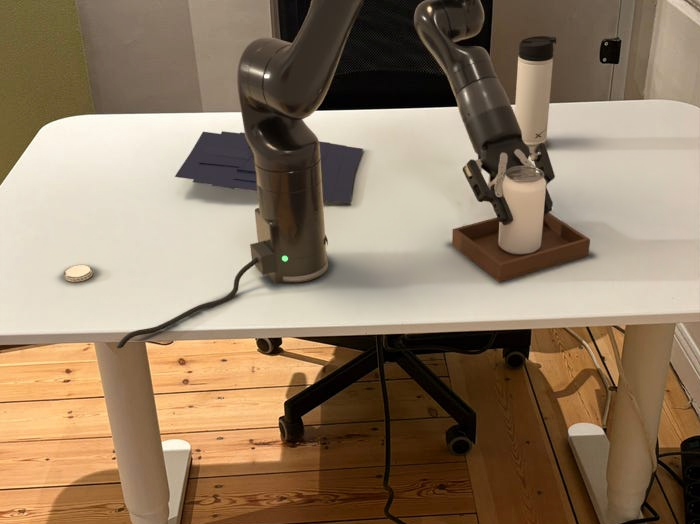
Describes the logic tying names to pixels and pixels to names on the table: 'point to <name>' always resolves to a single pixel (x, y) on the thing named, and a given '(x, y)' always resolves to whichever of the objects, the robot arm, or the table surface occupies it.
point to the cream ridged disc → (78, 273)
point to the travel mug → (534, 88)
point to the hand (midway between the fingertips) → (528, 217)
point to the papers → (239, 171)
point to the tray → (487, 254)
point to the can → (523, 210)
